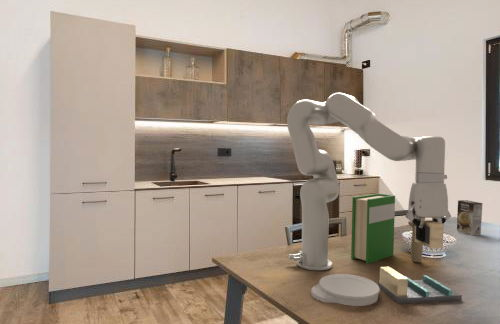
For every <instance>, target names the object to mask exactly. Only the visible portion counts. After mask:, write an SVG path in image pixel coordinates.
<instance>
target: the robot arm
mask: <svg viewBox="0 0 500 324" xmlns="http://www.w3.org/2000/svg"><path fill="white" fill-rule="evenodd" d="M286 122H287V123H286V124H287V125H286V126H287V129H288V133H289V138H290V140H291V144H292V149H293V153H294V157H295V163H296V165H297V169H298V171H299V172H300V173H301V174H302V175H304V176H312V177H313V178H309V179H308V180H306V181H305V182H304V183H302V185H301V187H300V191H299V197H300V204H301V250H299V251H298V252H297V253H288V256H287V257H288V260H293V261H294V262H296V264H297V265H298V267H300V268H302V269H305V270H309V271H318V272H319V271H327V270H330V269H331V268H332V267H333V262H332V261H331V260H330V259H329V232H330V231H329V228H330V227H329V225H330V224H329V223H330V222H329V220H330V219H329V218H330V216H329V210H328V205H327V204H328V203H330V202H333V201H335V200H336V199H337V198H338V197H339V194H340V183H339V180H338V176H337V175H338V174H337V171H336V167H335V162H334V161H333V158H332V156H331V155H330V153H329V152H327V151H325V150H323V149H319V148H318V146H317V141H316V138H315V134H314V133H313V131H312V129H311V127H310V126H311V125H317V126H321V125H324V126H325V125H328V124H334V123H338V122H339V123H341V124H343V125H344V126H346V127H347V128H348V129H350V130H351V131H353V132H354V133H355V134H357V135H358V136H359V138H360V139H362V140H363V141H364V142H365V143H366V144H367V145H368V146H369V147H371V148H372V149H374V150H375V151H377V152H378V153H379V154H381V155H382V156H384V157H385V158H387V159H388V160H391V161H394V162H401V161H402V162H403V161H404V162H406V161H414V160H415V176H414V177H415V179H414V180H415V182H411V183H412V184H411V186H410V191H409V198H408V208H407V209H408V210H407V213H406V214H405V218H406V219H408V221H412V223H413V224H414V225H415V226H416V239H417V240H419V241H422V242H424V241H425V228H423V227H424V221H425V218H427V219H431V220H433V221H436V222H439V223H442V224H444V225H445V223H446V222H447V221H448V220H449V219H450V218H451V217H452V214H451V213H450V210H449V199H448V198H449V197H448V189H447V185H446V183H445V180H447V179H448V175H447V174H445V164H446V163H445V162H446V161H445V160H446V158H445V157H446V140H445V138H444V137H441V136H430V135H429V136H421V137H413V136H406V135H400V133H399V134H398V132H395V131H394V130H392V129H391V128H389V127H388V126H386V125H385V124H384V123H382V122H381V121H380V120H379V119H378V116H377V114H376V113H375V112H374V111H372V110H371V109H369V108H368V107H366V106H364V105H363V104H361V103H360V101H359V100H358V99H357V98H356V97H355V96H353V95H351V94H346V93H343V92H335V93H332V94H331V95H329V97H327V100H326V101H323V102H321V101H316V100H312V99H301V100H298V101H297V102H296V103H294V104H293V105H292V106H291V107H290V109H289V111H288V113H287V118H286Z"/></svg>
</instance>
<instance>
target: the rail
mask: <svg viewBox="0 0 500 324" xmlns="http://www.w3.org/2000/svg"><path fill="white" fill-rule="evenodd" d="M377 285H378V286H379V289H380V290H381V291H382V292H384V293H385V294H387V295H388V296H389V297H390V298H391V299H392V300H394V301H395V302H396V303H398V304H400V305H402V304H419V303H420V304H421V303H436V302H439V303H440V302H457V301H458V302H459V301H462V299H463V295H462V294H461V293H459V292H457V291H455V290H453V288H451V287H448V286H447V285H445V284H444V283H442V282H440V281H438V280H436V279H435V278H432V277H431V276H428V275H426V274H422V279H411V278H410V277H407V276H406V275H403V274H401V273H400V272H398V271H397V270H395V269H393V267H391V266H379V281H377Z"/></svg>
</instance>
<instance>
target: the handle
mask: <svg viewBox="0 0 500 324" xmlns="http://www.w3.org/2000/svg"><path fill="white" fill-rule="evenodd" d="M407 223H408V225H409V226H410V227H411V229H412V233H411V243H410V255H411V256H410V257H411V261H412V262H413V263H421V262H422V256H423V246H424V245H422V244H420V243H418V242H415V225H414V224H413V223H412V221H410V220H408V222H407Z"/></svg>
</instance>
